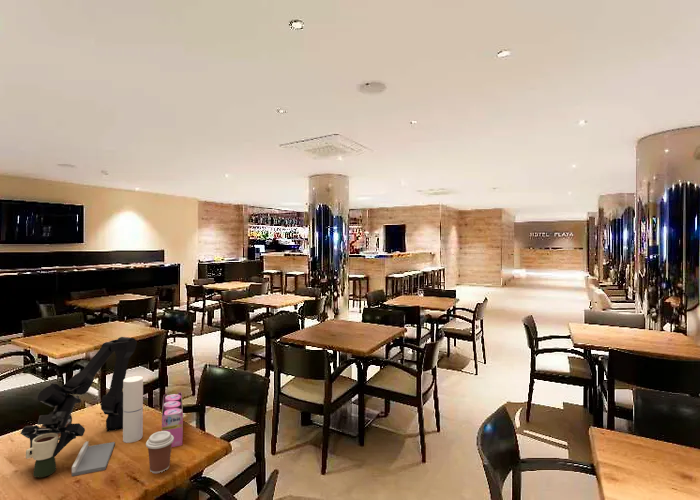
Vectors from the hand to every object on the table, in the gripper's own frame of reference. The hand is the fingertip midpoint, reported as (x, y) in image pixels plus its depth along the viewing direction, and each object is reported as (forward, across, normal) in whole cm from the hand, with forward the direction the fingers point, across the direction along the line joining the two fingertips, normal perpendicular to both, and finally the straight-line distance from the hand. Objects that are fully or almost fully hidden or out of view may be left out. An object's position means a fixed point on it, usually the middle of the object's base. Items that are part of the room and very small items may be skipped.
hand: (42, 456), depth 129 cm
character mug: (+4, 0, +6) cm, 7 cm away
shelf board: (-2, +12, +11) cm, 17 cm away
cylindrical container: (-12, +20, +22) cm, 32 cm away
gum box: (-13, +35, +23) cm, 44 cm away
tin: (-15, -13, +25) cm, 32 cm away
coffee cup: (+4, +39, +6) cm, 39 cm away
